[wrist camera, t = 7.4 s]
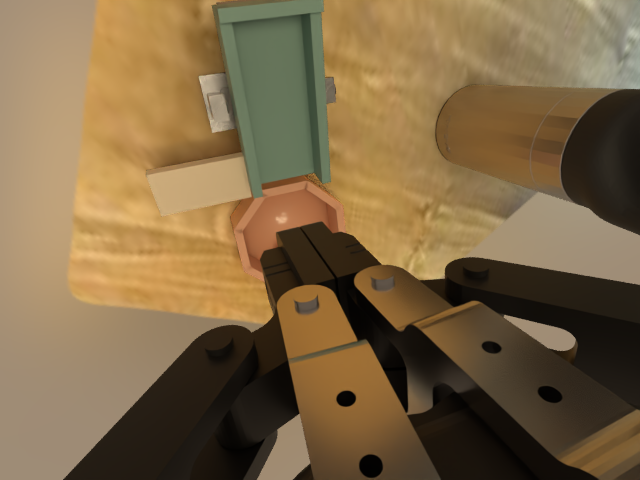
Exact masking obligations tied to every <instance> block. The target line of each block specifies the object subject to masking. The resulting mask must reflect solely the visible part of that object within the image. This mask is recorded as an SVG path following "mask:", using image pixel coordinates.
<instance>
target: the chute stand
mask: <svg viewBox="0 0 640 480" xmlns="http://www.w3.org/2000/svg"><path fill="white" fill-rule="evenodd" d="M198 77H199V81H200V85H201V89H202V93H203V97H204V101H205V105H206V109H207V113H208V117H209V121H210V125H211V129H212V133H213V132H219V131H224V130H230V129H236V128H237V126H236V121H235V116H234V111H233V106H232V102H231V97H230V92H229V87H228V82H227V77H226V72H225V73H218V74H211V75H204V76H198ZM325 88H326V104H328V103H333V102H336V97H335V95H336V88H335V84H334V78H333V77H325Z"/></svg>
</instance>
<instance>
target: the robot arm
mask: <svg viewBox="0 0 640 480" xmlns="http://www.w3.org/2000/svg"><path fill="white" fill-rule="evenodd" d="M436 138H437V144H438V147H439V149H440V151H441V153H442V155H443V156H444V157H445V158H446V159H447V160H449V161H451V162H452V163H455V164H458V165H461V166H464V167H467V168H470V169H473V170H475V171H478V172H481V173H484V174H487V175H490V176H493V177H496V178H499V179H502V180H505V181H508V182H511V183H514V184H517V185H520V186H523V187H526V188H529V189H532V190H535V191H538V192H541V193H545V194H548V195H551V196H554V197H557V198H560V199H563V200H566V201H569V202H572V203H575V204H578V205H581V206H584V207H587V208H589V209H590V210H592V211H593V212H594V213H595V214H596V215H597V216H599V217H600V218H601V219H603V220H605V221H607V222H609V223H611V224H613V225H616V226H618V227H621V228H623V229H626V230H628V231H631V232H633V233H636V234H638V235H640V89H607V88H566V87H532V86H502V85H471V86H467V87H465V88H462V89H460V90H459V91H458V92H456V93H455V94H454V95H453V96H452V97H451V98H450V99H449V100H448V101H447V102H446V104H445V105H444V107H443V109H442V111H441V113H440V115H439V119H438V122H437V129H436ZM276 239H277V244H278V247H277V248H273V249H269V250H265V251H263V254H262V256H261V258H260V263H261V268H262V272H263V276H264V281H265V285H266V290H267V294H268V299H269V302H270V305H271V308H272V311H273V314H274V315H273V317H272V318H271V320H270V321H269V322H268V323H267V324H265V325H264V326H263V327H261V328H259V329H258V330H256V331H254V332H252V333H251V332H250V331H249V330H248V329H247V328H245V327H242V326H238V325H227V326H221V327H217V328H214V329H211V330H210V331H207V332H205V333H204V334H202V335H201V336H199V337H198V338H197V339H195V341H193V342H192V343H191V344H190V346H189V347H188V348H187V349H186V350H185V351H184V352H183V353H182V354H181V355H180V356H179V357H178V358H177V359H176V360H175V361H174V362H173V364H172V365H171V366H170V367H169V368H168V369H167V370H166V371H165V372H164V373H163V374H162V375H161V376H160V377H159V378H158V379H157V381H156V382H155V383H154V384H153V385H152V386H151V387H150V388H149V389H148V390H147V391H146V392H145V393H144V394H143V396H142V397H141V398H140V399H139V400H138V401H137V402H136V403H135V404H134V405H133V406H132V407H131V408H130V409H129V410H128V411H127V412H126V413H125V415H124V416H123V417H122V418H121V419H120V420H119V421H118V422H117V423H116V424H115V425H114V426H113V427H112V428H111V429H110V431H109V432H108V433H107V434H106V435H105V436H104V437H103V438H102V439H101V440H100V441H99V442H98V443H97V444H96V445H95V447H94V448H93V449H92V450H91V451H90V452H89V453H88V454H87V455H86V456H85V457H84V458H83V459H82V460H81V461H80V462H79V463H78V464H77V466H76V467H75V468H74V469H73V470H72V471H71V472H70V473H69V474H68V475H67V476H66V477H65V478H64V479H63V480H257V478H258V476H259V474H260V472H261V470H262V468H263V466H264V464H265V462H266V460H267V458H268V456H269V454H270V452H271V451H272V449H273V446H274V445H275V442H276V439H277V429H278V428H280V427H281V426H283V425H284V424H286V423H287V422H288V421H290V420H291V419H293V418H294V417H295V416H297V415H298V414H300V417H301V422H302V426H303V431H304V436H305V440H306V445H307V449H308V454H309V459H310V464H309V465H308V466H307V467H306V468H304V469H303V470H302V471H301V472H300V473H299V474H298V475H297V476H296V477H295V478H294V479H293V480H640V285H637V284H630V283H625V282H619V281H613V280H607V279H602V278H595V277H590V276H584V275H578V274H572V273H567V272H561V271H554V270H549V269H543V268H537V267H531V266H525V265H519V264H514V263H508V262H502V261H496V260H490V259H484V258H475V257H472V258H471V257H469V258H461V259H457V260H454V261H452V262H450V263H449V264H448V265H447V266H446V268H445V279H434V280H420V281H419V280H418V279H416V278H415V277H414V276H413V275H411V274H410V273H409V272H407V271H406V270H404V269H402V268H400V267H397V266H392V265H382V264H381V263H380V262H379V261H378V260H377V259H376V258H375V257H374V256H373V255H372V254H371V253H370V252H369V251H368V250H366V248H365V247H364V246H363V245H362V244H360V242H359V241H358V240H357V239H356V238H355V237H354V236H352V235H349V234H347V233H344V232H337V233H332V232H331V231H330V229H329V228H328V227H327V226H326V225H325V224H324V223H323V222H322V221H320V222H316V223H312V224H307V225H303V226H300V227H295V228H291V229H287V230H283V231H279V232H276ZM504 315H508V316H513V317H517V318H521V319H525V320H529V321H533V322H537V323H541V324H545V325H549V326H554V327H558V328H561V329H564V330H566V331H568V332H570V333H571V334H572V335H573V336H574V337H575V338H576V342H575V345H574V347H573V348H572V349H570V350H567V351H557V350H553V349H548V348H547V347H545V346H544V345H543V344H541V343H540V342H538V341H537V340H535V339H534V338H532V337H531V336H529V335H528V334H527V333H525V332H524V331H522V330H521V329H519V328H518V327H516V326H515V325H513V324H512V323H511V322H509V321H508V320H506V319H505V318H504Z"/></svg>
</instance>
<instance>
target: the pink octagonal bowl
mask: <svg viewBox="0 0 640 480" xmlns="http://www.w3.org/2000/svg"><path fill="white" fill-rule="evenodd" d="M261 187H262V192H263V197H259V198H255V199H254V197H253V194H252V192H251V196H252V197H249V198H245V199H242V200H241V202H240V203H239V205H238V206H237V208H236V209H235V211H234V212H233V214H232V215H231V222H232V226H233V230H234V234H235V238H236V242H237V246H238V250H239V254H240V258H241V262H242V266H243V270H244V272H245V273H247V274H249V275H251V276H253V277H255V278H257V279H259V280H261V281H263V282H265V281H264V276H263V272H262V268H261V263H260V258H261V256H262V254H263V251H265V250H269V249H273V248H277V247H278V244H277V239H276V232H279V231H283V230H287V229H291V228H295V227H300V226H303V225H307V224H312V223H316V222H320V221H322V222H323V223H324V224H325V225H326V226H327V227H328V228H329V229H330V231H331V232H332V233H337V232H344V233H346V229H345V220H344V211H343V205H342V204H341V203H340V202H339V201H338V200H337V199H336V198H334V197H333V196H332V195H331V194H330V193H328V192H327V191H325V190H324V189H322V188H321V187H319V186H318V185H317V184H315V183H314V182H312V181H311V180H309V179H308V178H306V177H305V176H304V175H301V176H296V177H292V178H287V179H282V180H277V181H273V182H268V183H263V184H261ZM250 191H251V189H250Z"/></svg>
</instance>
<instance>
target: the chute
mask: <svg viewBox="0 0 640 480" xmlns="http://www.w3.org/2000/svg"><path fill="white" fill-rule="evenodd" d="M216 4H217V5H212V8H213V13H214V18H215V23H216V28H217V33H218V38H219V42H220V47H221V52H222V57H223V62H224V67H225V72H226V77H227V82H228V87H229V92H230V97H231V102H232V106H233V111H234V116H235V121H236V126H237V131H238V136H239V141H240V146H241V151H242V152H240V153H234V154H229V155H224V156H219V157H213V158H208V159H203V160H198V161H192V162H187V163H182V164H177V165H171V166H166V167H161V168H155V169H150V170H146V177H147V180H148V182H149V185H150V187H151V190H152V193H153V195H154V198H155V201H156V203H157V206H158V209H159V211H160V214H161V217H162V216H167V215H171V214H176V213H180V212H185V211H190V210H194V209H199V208H203V207H208V206H213V205H217V204H222V203H226V202H231V201H236V200H240V199H245V198H249V197H252V196H251V192H252V194H253V197H254V199H255V198H259V197H263V192H262V187H261V184H263V183H268V182H273V181H277V180H282V179H287V178H292V177H296V176H301V175H306V174H311V173H315V174H316V176H317V177H318V178H319V180H320V181H321V182H322V184H323V183H328V182H331V176H330V158H329V141H328V123H327V106H326V88H325V70H324V53H323V35H322V18H321V12H324V4H323V0H238V1H228V2H218V3H216ZM250 189H251V191H250Z"/></svg>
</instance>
